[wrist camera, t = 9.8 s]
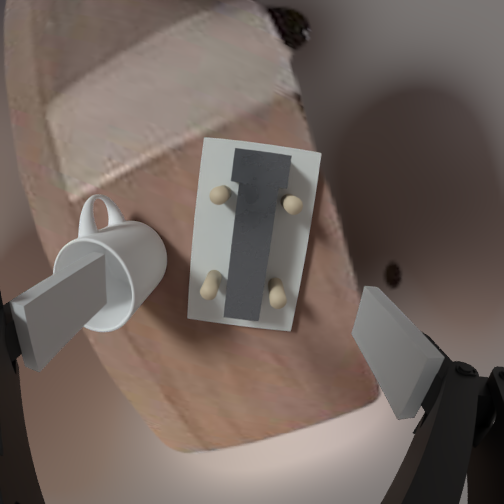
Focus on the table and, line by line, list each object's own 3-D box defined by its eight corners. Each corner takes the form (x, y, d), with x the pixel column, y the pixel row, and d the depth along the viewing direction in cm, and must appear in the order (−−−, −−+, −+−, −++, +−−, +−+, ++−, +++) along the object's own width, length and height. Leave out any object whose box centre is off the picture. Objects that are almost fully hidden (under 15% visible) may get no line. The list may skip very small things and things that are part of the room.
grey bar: (237, 151, 29) (235, 148, 25) (286, 158, 29) (291, 155, 25) (220, 300, 33) (215, 316, 29) (265, 305, 33) (266, 322, 29)
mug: (153, 181, 31) (109, 185, 21) (177, 284, 34) (147, 328, 24) (89, 199, 32) (33, 212, 21) (114, 294, 35) (71, 335, 24)
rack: (206, 138, 30) (196, 131, 25) (318, 153, 30) (332, 149, 25) (189, 313, 35) (178, 337, 29) (289, 326, 35) (295, 352, 30)
